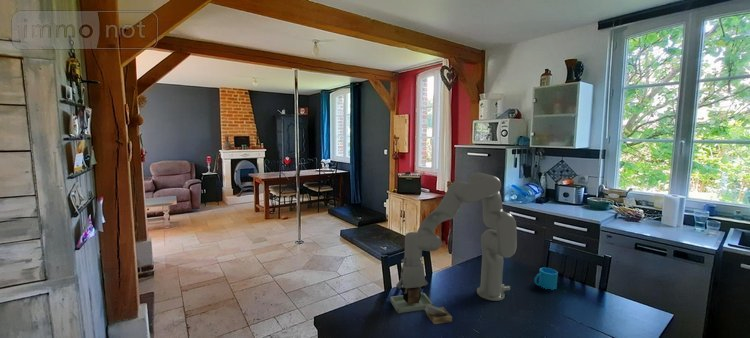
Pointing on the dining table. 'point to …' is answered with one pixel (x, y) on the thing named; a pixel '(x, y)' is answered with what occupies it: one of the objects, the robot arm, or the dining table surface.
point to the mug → (547, 278)
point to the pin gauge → (434, 310)
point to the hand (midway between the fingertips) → (411, 299)
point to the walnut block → (413, 295)
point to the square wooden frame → (440, 319)
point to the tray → (403, 306)
